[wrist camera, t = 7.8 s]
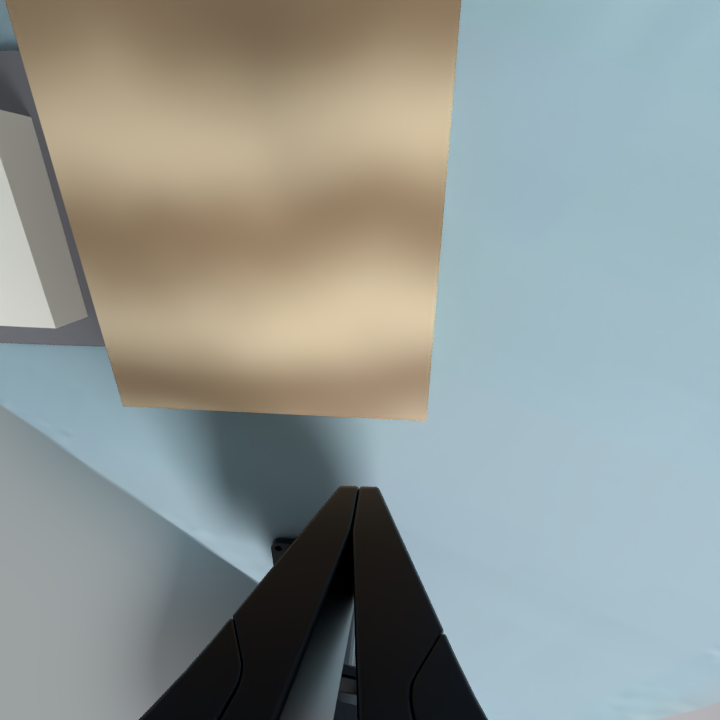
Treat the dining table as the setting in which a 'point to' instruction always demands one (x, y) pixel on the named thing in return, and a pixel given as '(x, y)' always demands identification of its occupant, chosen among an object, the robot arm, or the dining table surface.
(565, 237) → the dining table surface
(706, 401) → the dining table surface
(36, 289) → the white box
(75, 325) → the mat
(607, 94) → the dining table surface
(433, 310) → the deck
